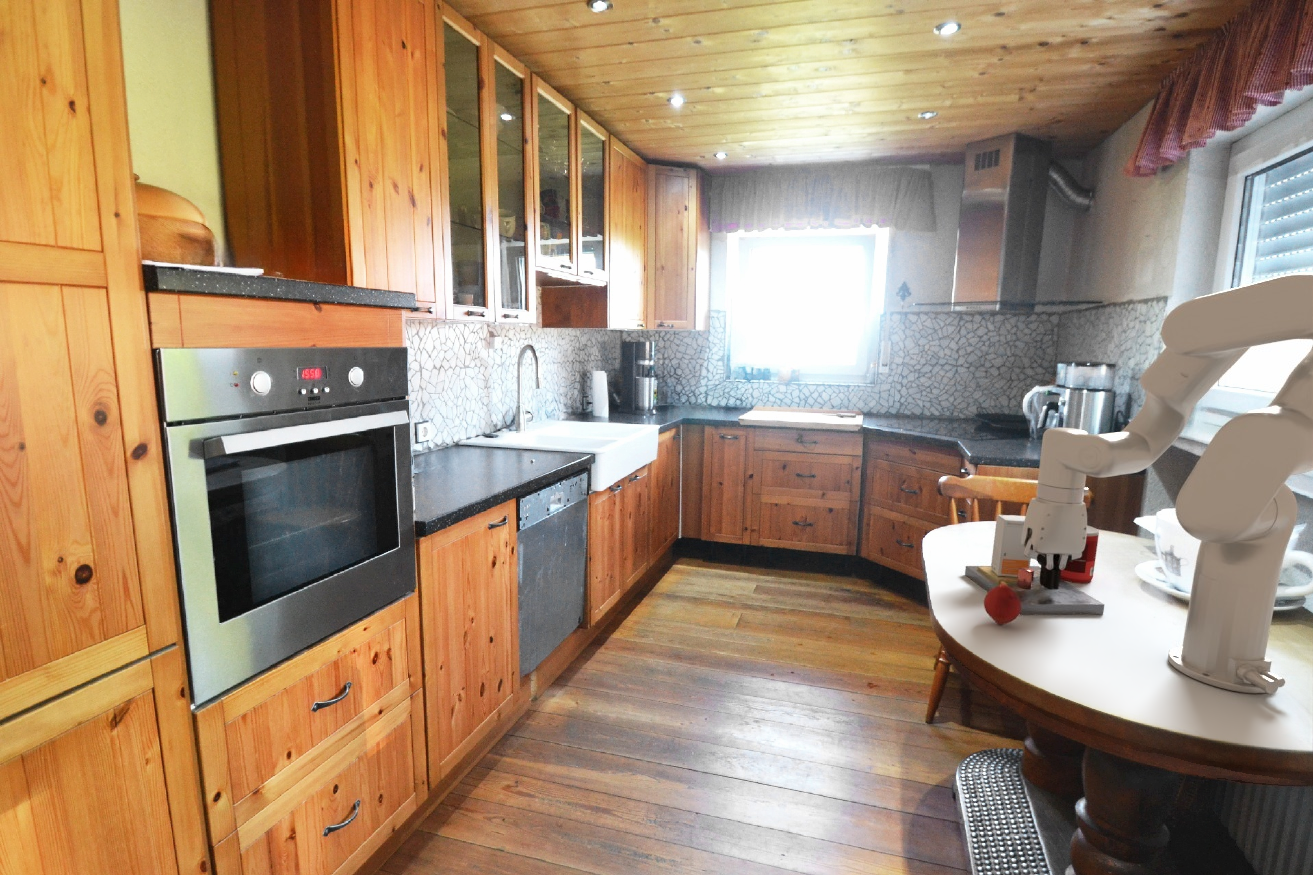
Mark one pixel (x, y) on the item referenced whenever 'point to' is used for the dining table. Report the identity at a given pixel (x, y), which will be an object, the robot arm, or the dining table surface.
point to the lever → (1028, 578)
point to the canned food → (1083, 561)
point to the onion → (1002, 604)
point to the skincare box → (1009, 546)
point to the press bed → (1039, 594)
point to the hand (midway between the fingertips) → (1048, 586)
